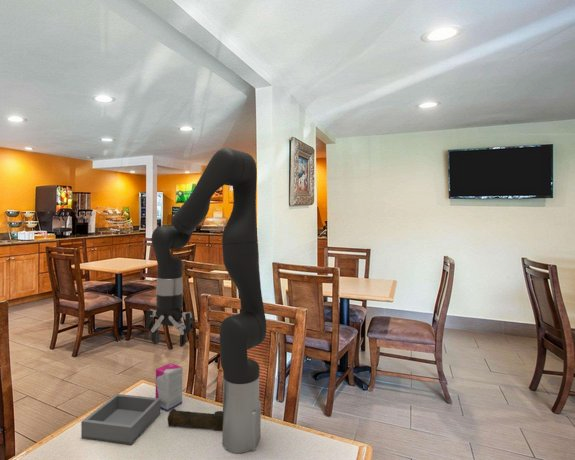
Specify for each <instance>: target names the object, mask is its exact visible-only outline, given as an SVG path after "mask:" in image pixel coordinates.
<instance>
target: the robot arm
mask: <svg viewBox="0 0 575 460" xmlns="http://www.w3.org/2000/svg"><path fill="white" fill-rule="evenodd" d="M257 180H258V171H257V163H256V160H255V159H254V157H253V155H251V154H249V153H248V152H244V151H240V150H237V149H232V148H227V147H224V148H221V149H219V150H217V151H216V152H215V153H214V154H213V156H212V157H211V159H210V160H209V161H208V163H207V165H206V167H205V169H204V170H203V172H202V174H201V175H200V177H199V179H198V181H197V182H196V185H195V186H194V188H193V190H192V192H191V193H190V195H189V196H188V197H187V199H186V200H185V201H184V203H183V204H182V205H181V206H180V207H179V208H178V209H177V211H176V212H175V213H174V214H173V216H172V219H171V223H172V225H161V226H157V227H155V229H154V230H153V232H152V234H151V246H152V248H153V251H154V255H155V258H156V264H157V280H156V289H155V290H156V298H155V299H156V303H155V304H156V309H154V308H150V309H148V310H147V311H146V313H145V316H146V317H145V330H146V331H150V332H151V342H152V343H153V345H158V344H159V343H160V330H159V329H160V328H161V327H162V326H164V327H165V326H169V327H174V328H175V329H176V330H177V331H178V332H179V347H184V346H186V344H187V343H188V334H189V333H191V332H192V331H194V315H193V311H192V310H189V311H186V312H185V311H183V302H184V300H183V299H184V298H183V293H184V291H183V290H184V283H183V261H182V259H181V258H179V257H177V256H172V253H171V250H179V249H183V248H184V247H186V246H187V244H188V243H189V242H190V239H191V238H192V236H193V233H194V230H195V229H196V228H197V227H198V226H199V225H200V224H201V223H202V222H203V221H204V220H205V218H206V217H207V215H208V213H209V210H210V206H211V199H212V198H213V196H214V194H215V193H216V192H217V191H218V190H220V189H221V188H222V187H223V186H229V187H232V195H233V198H232V199H233V204H232V209H231V213H230V216H229V218H228V220H227V223H226V224H225V227H224V229H223V233H222V235H221V236H222V237H221V238H222V239H221V244H222V247H221V249H222V260H223V265H224V267H225V270H226V271H227V273H228V275H229V276H230V278H231V280H232V282H233V283H234V285H235V287H236V289H237V291H238V294H239V301H240V313H239V312H238V313H236V314H233V315H229V316H227V317H226V318H224V319H223V320H222V322H221V324H220V329H219V353H220V355H219V357H220V366H221V368H222V373H223V374H222V378H223V380H222V383H223V384H222V411H223V431H222V433H221V434H222V435H221V438H222V442H221V443H222V446H223V448H224V449H225V450H226V451H228V452H231V453H235V454H239V453H242V454H243V453H247V452H249V451H252V452H254V451H256V449H257V447H258V445H259V444H258V443H259V441H260V439H261V424H262V423H261V422H262V419H261V418H262V401H261V400H260V373H261V371H260V365H259V363H258V361H256V360H254V359H252V358H249V357H248V350H250V349H252V348H255V347H257V346H260V345H261V344H262V343H263V342H264V341H265V339H266V335H267V320H266V318H267V317H266V313H265V307H264V300H263V296H262V295H263V294H262V285H261V278H260V277H261V274H260V273H261V272H260V257H259V255H260V253H259V240H258V238H259V237H258V231H257V230H258V228H257V187H258V186H257V184H258V183H257V182H258V181H257ZM155 317H156V318H157V320H156V322H155ZM183 319H184V321H185V322H184V321H183Z"/></svg>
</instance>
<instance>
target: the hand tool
mask: <svg viewBox="0 0 575 460" xmlns="http://www.w3.org/2000/svg"><path fill="white" fill-rule="evenodd" d="M168 412H169V413H168V415H167V425H168V426H171V425H172V426H174V427H176V426H188V427H198V428H199V427H200V428H209V429H213V431H218V432H223V410H218V411H215V412H214V413H209V412H199V411H198V412H196V411H188V410H187V411H186V410H178V409H177V410H176V409H175V408H173V409H171V410H169V411H168Z"/></svg>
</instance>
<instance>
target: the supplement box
mask: <svg viewBox="0 0 575 460" xmlns="http://www.w3.org/2000/svg"><path fill="white" fill-rule="evenodd" d="M183 369H184V368H183V366H180V365H177V364H175V363H171V362H170V363H167V364H165V365H162V366H160V367H158V368H156V369H155V398H160V410H164V411H165V412H170V411H171V410H172V409H175V408H177V407H179V406H180V405H182V404H183Z"/></svg>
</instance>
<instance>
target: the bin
mask: <svg viewBox="0 0 575 460" xmlns="http://www.w3.org/2000/svg"><path fill="white" fill-rule="evenodd" d="M160 415H161V408H160V398H156V397H152V396H151V397H150V396H149V397H148V396H140V395H130V394H124V393H115V394H114V395H113V396H112V397H111V398H109V399H107V401H106V402H105V403H103V404H102V405H101V406H99V407H98V408H97V409H95V410H94V411H93V412H92V413H90V414H89V415H88V416H86V417H85V418H84V419H82V420H81V422H80V423H81V424H80V425H81V426H80V427H81V429H80V430H81V431H80V433H81V434H80V435H81V438H80V439H82V440H83V439H84V440H90V441H91V440H92V441H97V442H105V443H106V442H107V443H110V444H111V443H112V444H113V443H114V444H119V445H128V446H132V445H133V444H134V443H135V442H136V441H137V439H139V438H140V436H141V435H142V434H143V433H144V432H145V431H146V430H147V429H148V428H149V427H150V426H151V424H152V423H153V422H154V421H155V420H156V419H157V418H158V416H160Z"/></svg>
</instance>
